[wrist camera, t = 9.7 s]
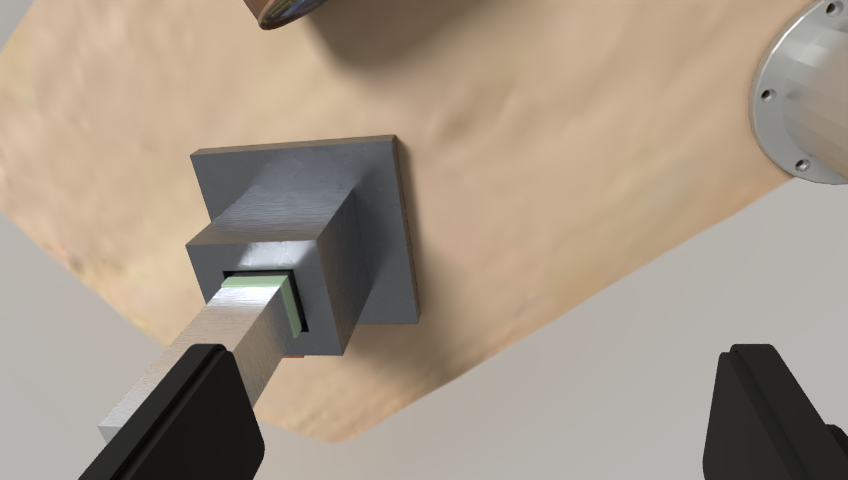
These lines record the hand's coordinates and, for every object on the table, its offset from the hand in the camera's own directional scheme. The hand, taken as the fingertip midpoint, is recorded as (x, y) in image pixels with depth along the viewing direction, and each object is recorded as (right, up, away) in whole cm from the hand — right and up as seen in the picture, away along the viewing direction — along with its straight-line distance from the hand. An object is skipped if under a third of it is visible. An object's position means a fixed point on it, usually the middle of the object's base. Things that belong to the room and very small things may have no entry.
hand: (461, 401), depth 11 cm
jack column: (-11, 0, +28) cm, 30 cm away
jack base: (-10, +4, +34) cm, 36 cm away
